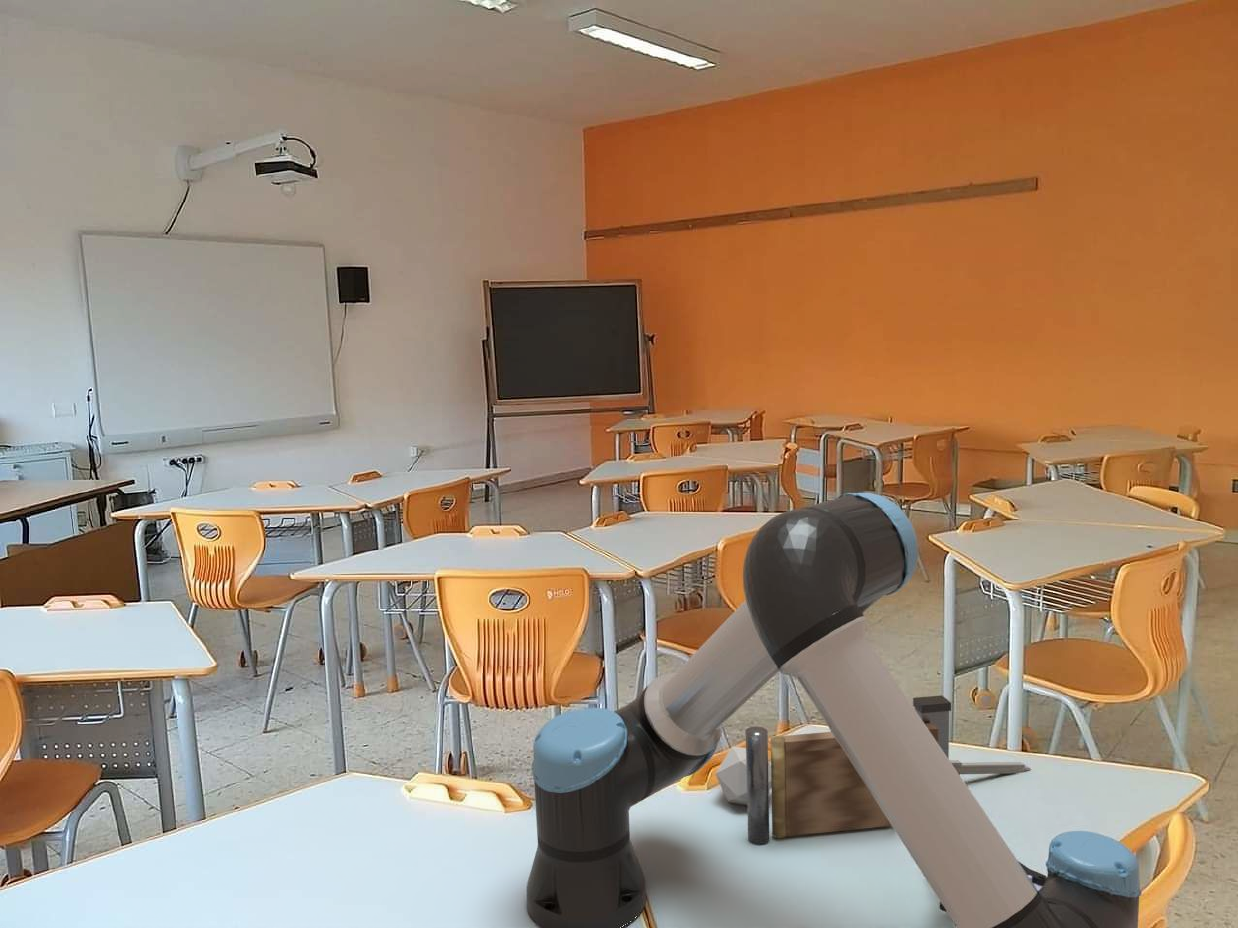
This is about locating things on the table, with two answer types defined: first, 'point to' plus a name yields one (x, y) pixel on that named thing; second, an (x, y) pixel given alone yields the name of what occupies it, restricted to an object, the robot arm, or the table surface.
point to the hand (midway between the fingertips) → (929, 819)
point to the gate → (819, 787)
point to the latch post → (935, 716)
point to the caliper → (989, 767)
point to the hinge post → (757, 785)
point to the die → (736, 776)
